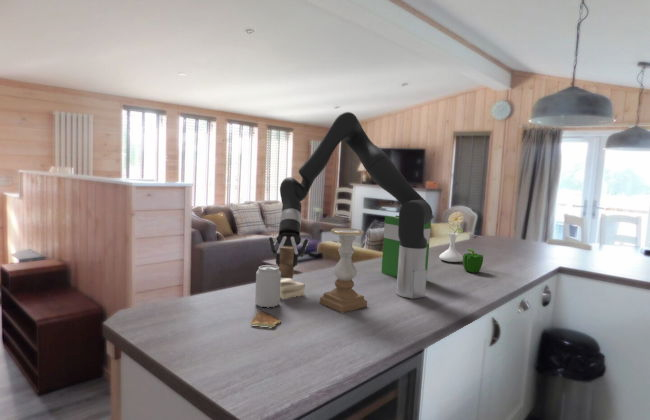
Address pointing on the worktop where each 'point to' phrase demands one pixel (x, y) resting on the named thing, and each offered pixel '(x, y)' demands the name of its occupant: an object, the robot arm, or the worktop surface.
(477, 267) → the bell pepper
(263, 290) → the can
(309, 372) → the worktop surface
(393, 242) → the green and white box
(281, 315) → the worktop surface
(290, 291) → the birch block
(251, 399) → the worktop surface
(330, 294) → the candle holder
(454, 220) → the flower in vase
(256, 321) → the sandwich
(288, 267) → the walnut pillar
